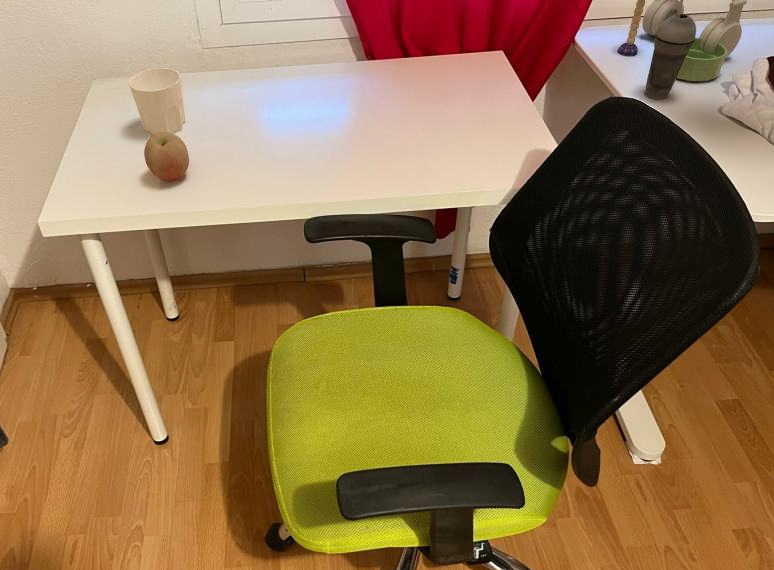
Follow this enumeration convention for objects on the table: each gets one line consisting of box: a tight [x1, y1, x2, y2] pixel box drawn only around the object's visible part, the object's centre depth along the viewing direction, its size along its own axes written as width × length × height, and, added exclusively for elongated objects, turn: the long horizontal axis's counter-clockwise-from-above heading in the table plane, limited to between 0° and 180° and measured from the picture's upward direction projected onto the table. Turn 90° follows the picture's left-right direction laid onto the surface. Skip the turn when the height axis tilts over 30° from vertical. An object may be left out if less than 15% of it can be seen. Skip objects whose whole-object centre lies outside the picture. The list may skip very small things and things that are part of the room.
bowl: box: [676, 37, 727, 82], centre depth 144 cm, size 11×11×5 cm
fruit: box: [143, 132, 190, 182], centre depth 124 cm, size 8×8×8 cm
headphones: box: [642, 0, 748, 59], centre depth 147 cm, size 20×8×19 cm, turn 28°
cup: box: [128, 67, 187, 136], centre depth 137 cm, size 10×10×10 cm
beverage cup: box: [644, 0, 697, 100], centre depth 133 cm, size 7×7×20 cm
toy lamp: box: [617, 0, 646, 57], centre depth 148 cm, size 5×5×17 cm
